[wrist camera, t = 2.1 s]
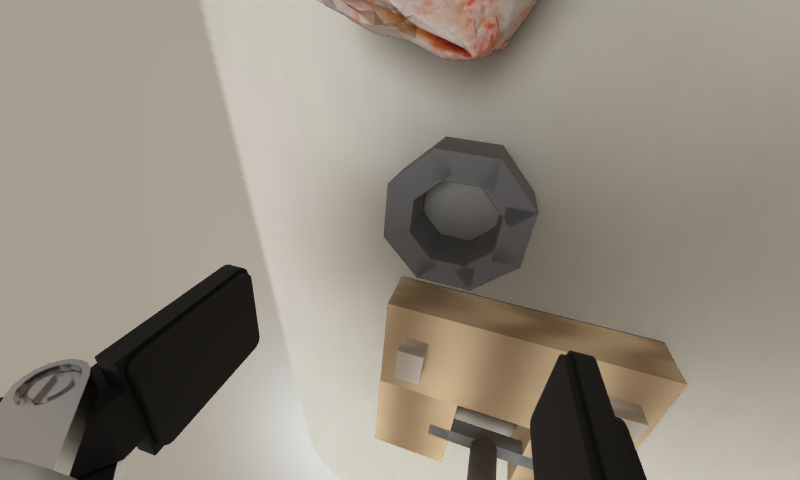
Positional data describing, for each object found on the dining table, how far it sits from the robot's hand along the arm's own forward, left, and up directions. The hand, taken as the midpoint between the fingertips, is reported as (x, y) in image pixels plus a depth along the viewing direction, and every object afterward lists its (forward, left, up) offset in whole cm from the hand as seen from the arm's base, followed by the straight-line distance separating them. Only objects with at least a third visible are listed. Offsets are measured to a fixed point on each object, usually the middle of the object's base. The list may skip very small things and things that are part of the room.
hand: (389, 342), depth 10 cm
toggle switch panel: (-6, +13, -11) cm, 18 cm away
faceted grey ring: (-1, 0, -11) cm, 11 cm away
